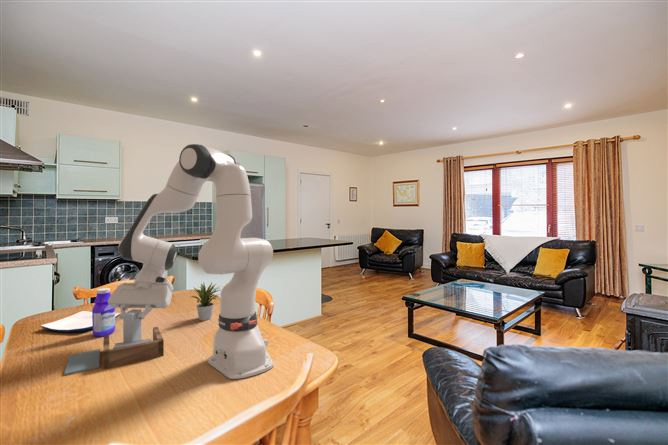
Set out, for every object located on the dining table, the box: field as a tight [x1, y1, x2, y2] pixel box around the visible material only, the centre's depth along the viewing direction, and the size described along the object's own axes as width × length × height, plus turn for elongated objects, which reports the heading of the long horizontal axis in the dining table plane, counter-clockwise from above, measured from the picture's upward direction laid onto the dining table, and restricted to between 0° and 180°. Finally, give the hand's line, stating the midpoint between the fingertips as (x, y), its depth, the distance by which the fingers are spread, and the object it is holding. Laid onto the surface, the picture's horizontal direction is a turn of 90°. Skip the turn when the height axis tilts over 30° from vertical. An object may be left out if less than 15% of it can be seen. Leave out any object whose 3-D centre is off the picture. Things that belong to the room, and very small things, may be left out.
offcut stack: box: [112, 338, 152, 349], centre depth 102 cm, size 4×12×5 cm, turn 117°
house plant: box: [190, 281, 223, 322], centre depth 138 cm, size 14×14×16 cm
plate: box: [40, 310, 121, 333], centre depth 130 cm, size 20×20×3 cm
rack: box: [102, 326, 165, 370], centre depth 104 cm, size 15×16×5 cm
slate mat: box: [64, 349, 101, 376], centre depth 98 cm, size 14×8×1 cm, turn 36°
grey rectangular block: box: [122, 308, 142, 342], centre depth 107 cm, size 3×5×13 cm, turn 1°
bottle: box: [91, 287, 116, 338], centre depth 120 cm, size 7×6×17 cm
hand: (131, 318), depth 106 cm, fingers open, 5 cm apart
